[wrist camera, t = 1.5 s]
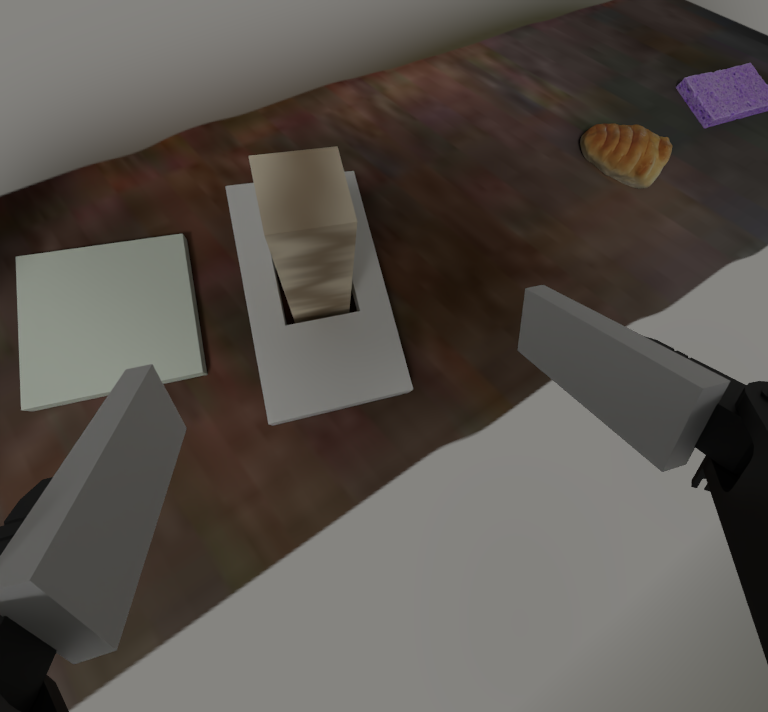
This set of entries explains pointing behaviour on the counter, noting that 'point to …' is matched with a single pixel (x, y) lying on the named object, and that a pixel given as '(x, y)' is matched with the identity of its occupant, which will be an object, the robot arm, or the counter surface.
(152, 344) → the tile
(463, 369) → the counter surface
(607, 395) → the robot arm
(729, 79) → the sponges
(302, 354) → the plate with hole
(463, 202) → the counter surface
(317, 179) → the peg
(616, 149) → the pastry
